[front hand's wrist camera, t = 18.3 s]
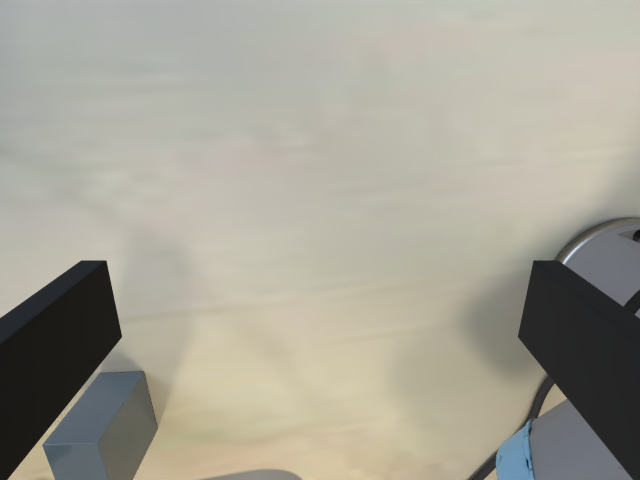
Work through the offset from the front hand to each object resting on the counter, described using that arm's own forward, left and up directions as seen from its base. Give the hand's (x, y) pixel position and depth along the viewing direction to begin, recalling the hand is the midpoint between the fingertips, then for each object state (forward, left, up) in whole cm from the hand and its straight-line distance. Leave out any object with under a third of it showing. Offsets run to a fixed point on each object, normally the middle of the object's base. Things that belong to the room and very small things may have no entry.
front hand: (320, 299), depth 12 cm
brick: (-39, 0, -29) cm, 49 cm away
